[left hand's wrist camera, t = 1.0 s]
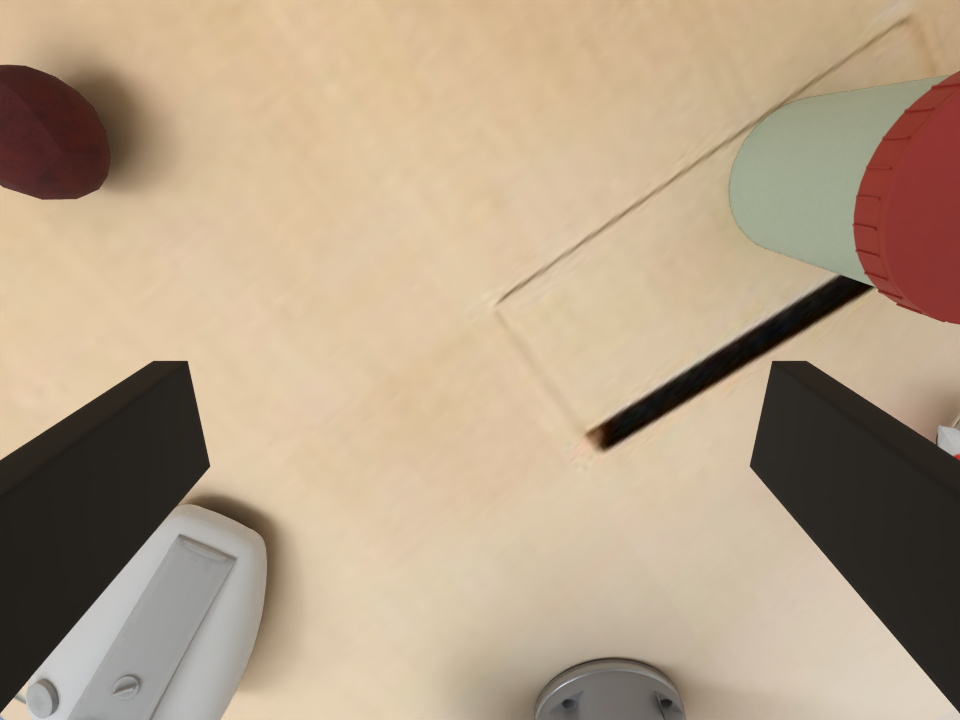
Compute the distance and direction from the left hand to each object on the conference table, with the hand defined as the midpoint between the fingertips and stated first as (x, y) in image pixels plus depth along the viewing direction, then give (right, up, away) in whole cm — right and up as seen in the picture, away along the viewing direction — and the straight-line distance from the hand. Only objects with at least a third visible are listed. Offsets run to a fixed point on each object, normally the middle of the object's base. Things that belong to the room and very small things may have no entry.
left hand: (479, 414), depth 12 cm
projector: (-28, -21, +38) cm, 52 cm away
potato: (-27, +16, +24) cm, 39 cm away
